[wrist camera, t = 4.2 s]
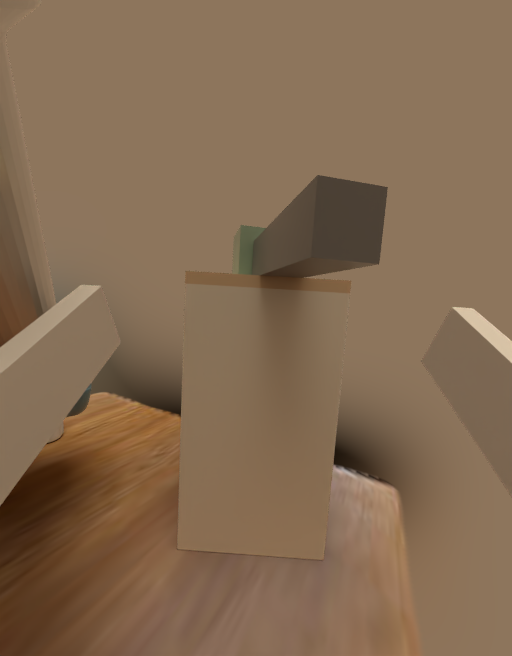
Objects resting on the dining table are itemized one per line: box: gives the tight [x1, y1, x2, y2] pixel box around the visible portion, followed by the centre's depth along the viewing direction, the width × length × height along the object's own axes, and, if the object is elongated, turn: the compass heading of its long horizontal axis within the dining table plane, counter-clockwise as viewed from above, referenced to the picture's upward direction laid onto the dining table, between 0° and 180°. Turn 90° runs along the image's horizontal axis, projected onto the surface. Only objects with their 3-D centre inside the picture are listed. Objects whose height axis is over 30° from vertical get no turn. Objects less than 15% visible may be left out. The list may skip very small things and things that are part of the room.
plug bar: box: [232, 175, 387, 278], centre depth 24 cm, size 22×7×6 cm, turn 12°
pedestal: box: [177, 271, 351, 560], centre depth 34 cm, size 14×16×30 cm
